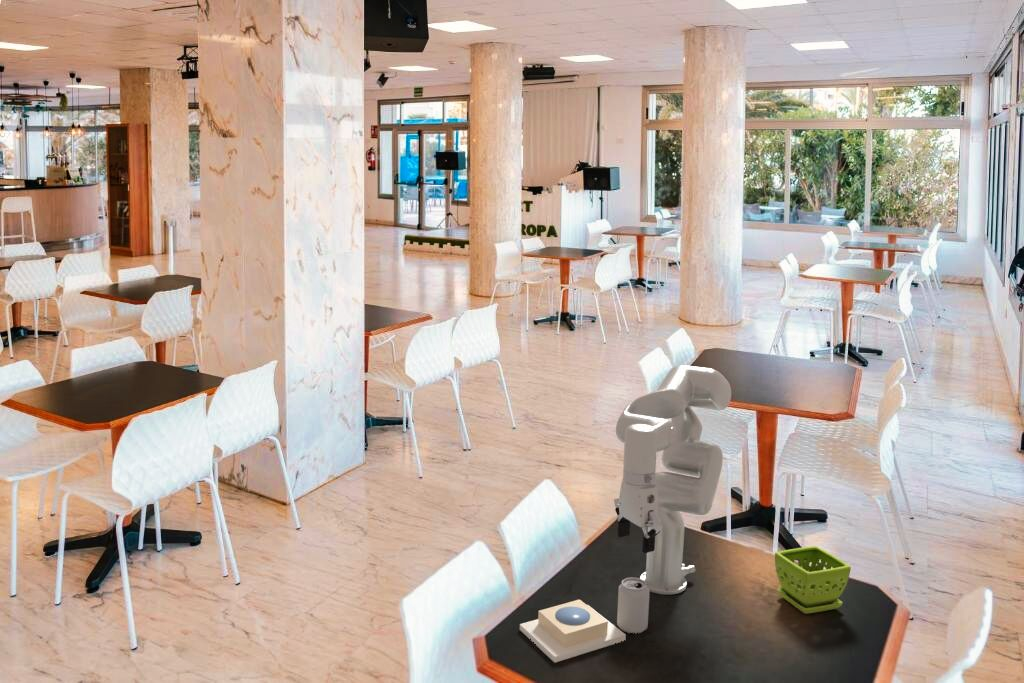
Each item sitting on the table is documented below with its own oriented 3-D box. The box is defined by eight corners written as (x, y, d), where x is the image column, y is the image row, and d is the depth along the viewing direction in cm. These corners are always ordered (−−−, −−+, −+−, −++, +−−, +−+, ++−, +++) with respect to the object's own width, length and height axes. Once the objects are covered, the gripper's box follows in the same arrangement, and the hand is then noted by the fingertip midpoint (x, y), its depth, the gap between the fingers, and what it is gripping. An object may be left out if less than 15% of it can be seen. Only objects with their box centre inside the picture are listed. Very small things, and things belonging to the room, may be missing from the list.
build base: (587, 610, 223) (588, 591, 221) (625, 640, 209) (626, 620, 208) (519, 629, 213) (520, 610, 212) (554, 662, 199) (555, 642, 198)
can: (646, 637, 210) (649, 591, 208) (615, 633, 212) (617, 588, 209) (648, 621, 218) (650, 577, 215) (618, 618, 219) (620, 573, 217)
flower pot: (848, 612, 224) (853, 566, 221) (803, 621, 219) (807, 574, 216) (812, 587, 237) (816, 543, 234) (769, 595, 232) (772, 550, 229)
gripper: (675, 485, 201) (671, 554, 205) (629, 462, 216) (626, 527, 219) (649, 491, 197) (645, 561, 201) (604, 467, 212) (602, 533, 216)
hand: (635, 543), depth 210 cm, fingers open, 9 cm apart
